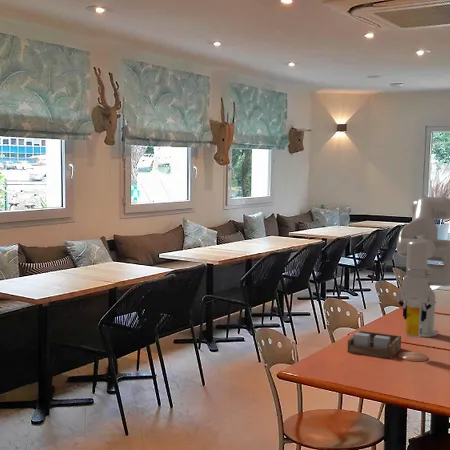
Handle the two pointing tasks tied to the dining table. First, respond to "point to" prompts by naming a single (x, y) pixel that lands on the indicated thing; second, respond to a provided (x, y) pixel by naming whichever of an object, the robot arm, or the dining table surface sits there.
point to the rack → (392, 348)
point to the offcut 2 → (381, 342)
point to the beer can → (414, 318)
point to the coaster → (413, 356)
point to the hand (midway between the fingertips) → (414, 319)
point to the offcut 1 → (362, 339)
